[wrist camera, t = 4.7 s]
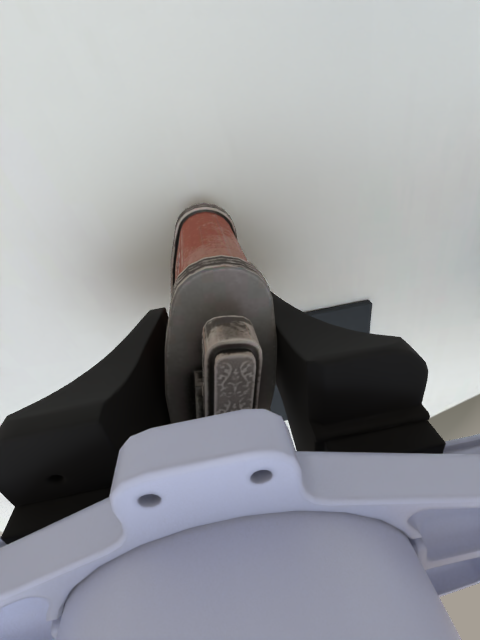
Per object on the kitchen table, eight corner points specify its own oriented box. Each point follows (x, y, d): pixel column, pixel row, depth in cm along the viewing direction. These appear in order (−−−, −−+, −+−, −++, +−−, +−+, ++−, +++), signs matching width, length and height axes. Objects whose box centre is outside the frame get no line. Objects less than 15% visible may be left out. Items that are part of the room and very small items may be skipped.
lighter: (235, 349, 18) (282, 538, 10) (175, 352, 18) (171, 556, 9) (242, 203, 14) (333, 315, 6) (165, 202, 14) (139, 323, 5)
